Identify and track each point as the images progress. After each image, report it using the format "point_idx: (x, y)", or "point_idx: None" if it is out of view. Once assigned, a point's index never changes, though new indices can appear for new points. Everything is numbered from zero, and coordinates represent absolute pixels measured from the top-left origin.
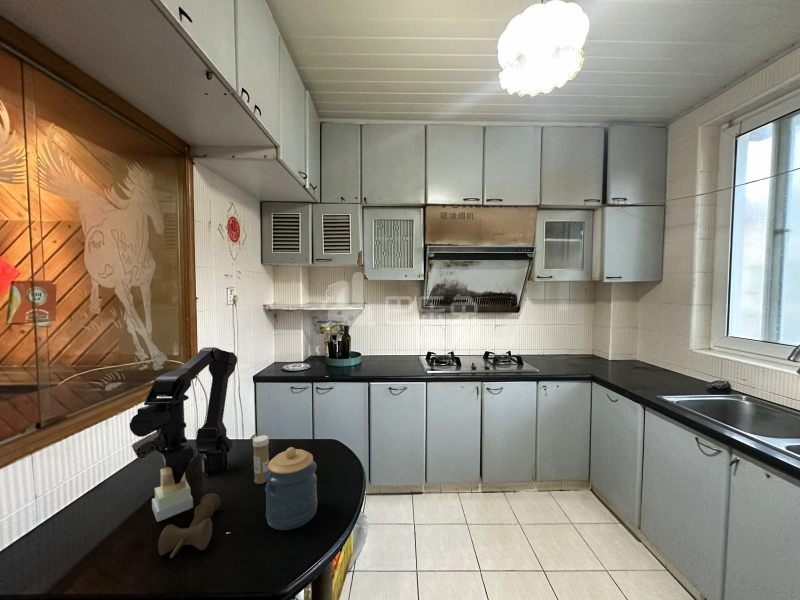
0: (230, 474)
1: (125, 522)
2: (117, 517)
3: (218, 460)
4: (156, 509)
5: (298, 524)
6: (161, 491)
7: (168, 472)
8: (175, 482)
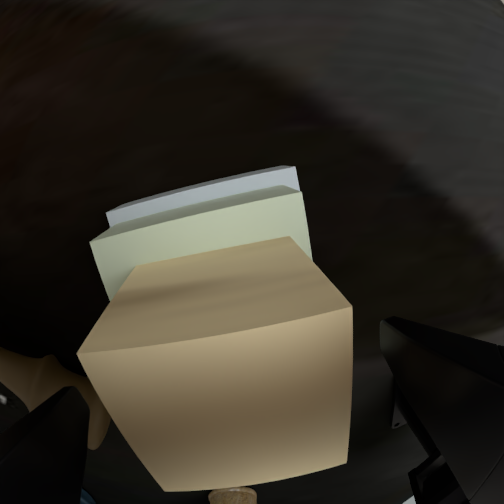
0: (350, 433)
1: (217, 61)
2: (293, 29)
3: (419, 434)
4: (139, 206)
5: None
6: (203, 247)
7: (165, 404)
8: (55, 398)
